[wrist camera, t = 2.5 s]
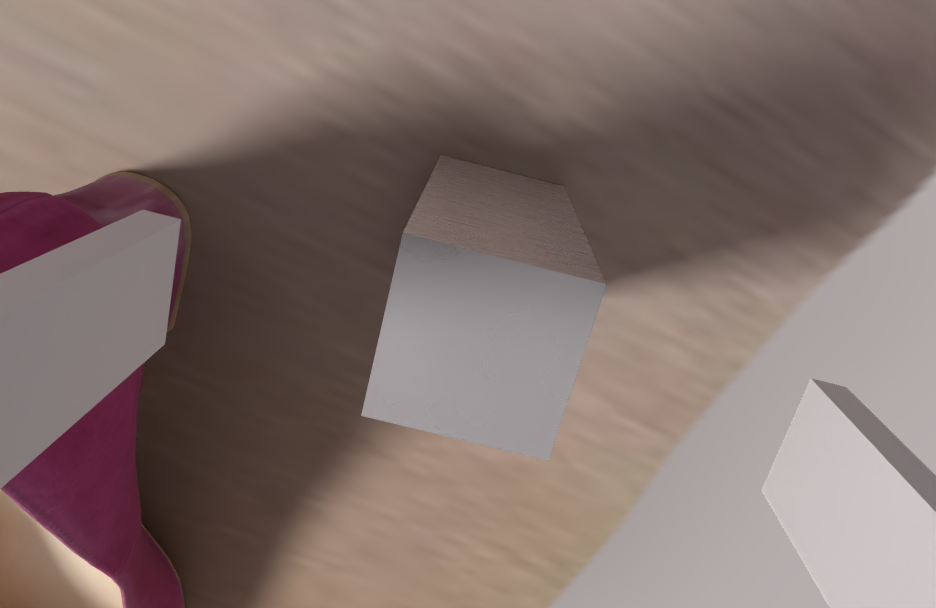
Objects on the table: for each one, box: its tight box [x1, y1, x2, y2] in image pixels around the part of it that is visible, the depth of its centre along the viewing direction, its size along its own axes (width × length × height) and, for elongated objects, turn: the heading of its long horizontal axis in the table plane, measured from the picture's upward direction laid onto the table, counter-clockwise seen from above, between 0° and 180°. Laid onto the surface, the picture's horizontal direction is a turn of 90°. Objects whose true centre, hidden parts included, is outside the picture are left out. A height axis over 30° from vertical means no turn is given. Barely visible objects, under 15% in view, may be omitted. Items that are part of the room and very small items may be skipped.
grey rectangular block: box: [361, 155, 607, 461], centre depth 20 cm, size 4×4×10 cm
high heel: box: [0, 172, 191, 608], centre depth 23 cm, size 26×9×12 cm, turn 159°
